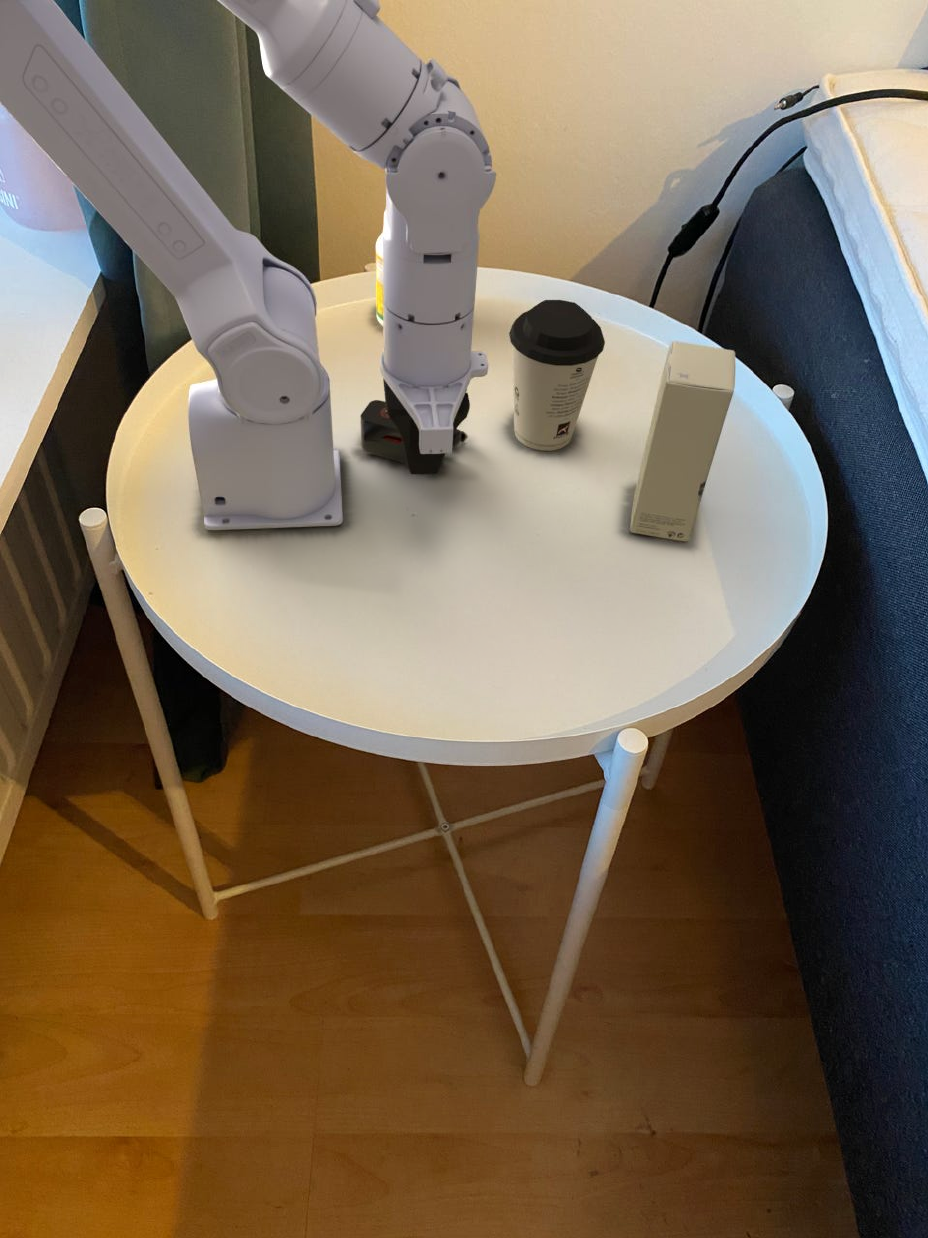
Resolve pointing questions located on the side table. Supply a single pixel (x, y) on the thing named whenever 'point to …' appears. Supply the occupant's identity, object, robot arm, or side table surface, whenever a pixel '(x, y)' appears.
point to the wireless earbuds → (387, 433)
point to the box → (682, 439)
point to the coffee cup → (552, 371)
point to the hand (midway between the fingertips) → (423, 468)
